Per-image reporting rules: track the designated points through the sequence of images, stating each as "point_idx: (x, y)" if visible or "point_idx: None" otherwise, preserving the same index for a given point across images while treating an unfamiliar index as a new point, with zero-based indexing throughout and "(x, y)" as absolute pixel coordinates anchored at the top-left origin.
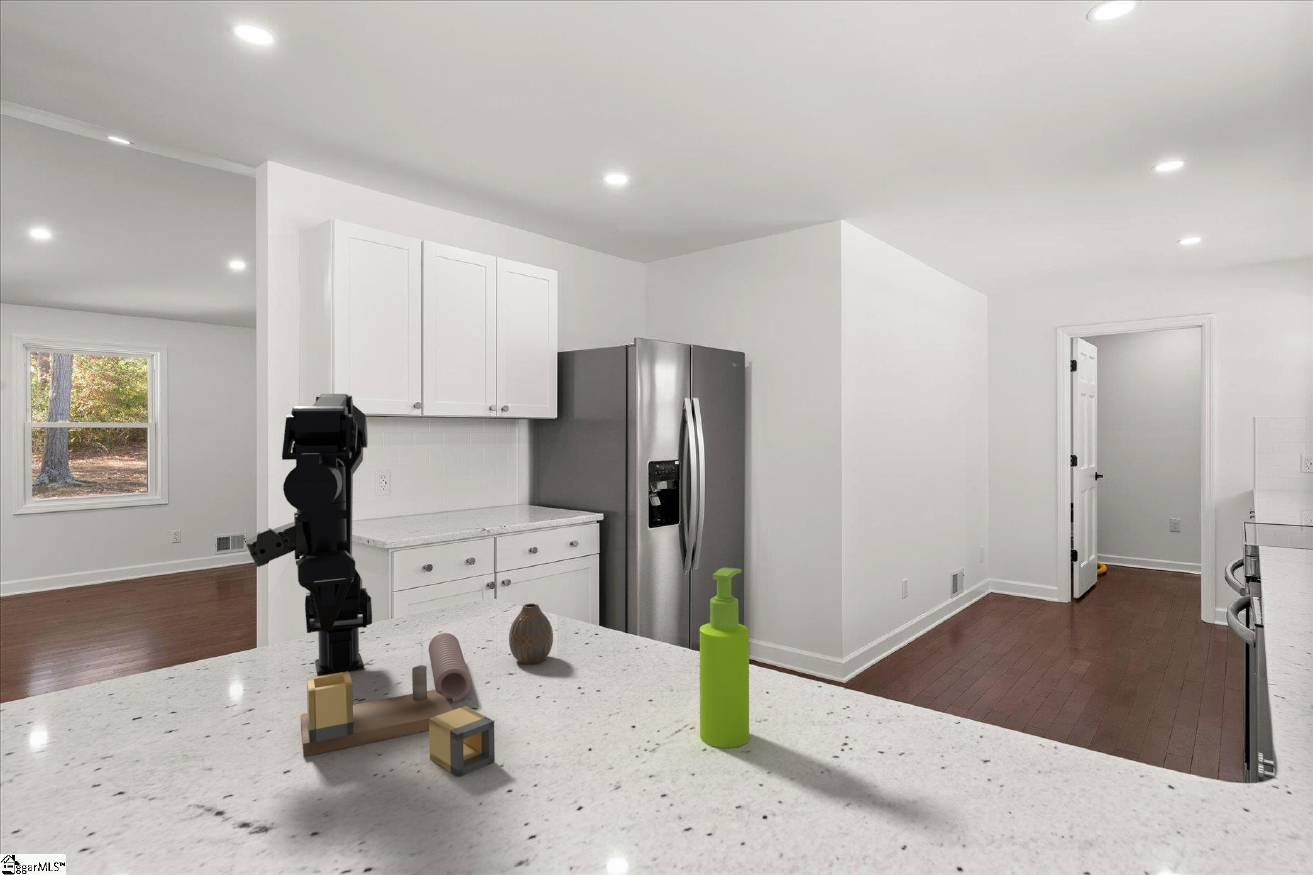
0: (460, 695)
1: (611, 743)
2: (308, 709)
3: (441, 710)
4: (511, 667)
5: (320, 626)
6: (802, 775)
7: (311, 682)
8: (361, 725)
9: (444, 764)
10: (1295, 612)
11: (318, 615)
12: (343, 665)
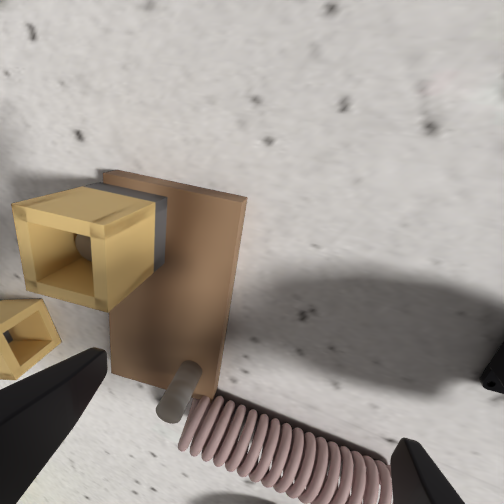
0: (191, 408)
1: None
2: (80, 197)
3: (127, 366)
4: (272, 495)
5: (73, 356)
6: None
7: (68, 225)
8: None
9: (9, 302)
10: None
11: (4, 388)
12: (499, 358)
